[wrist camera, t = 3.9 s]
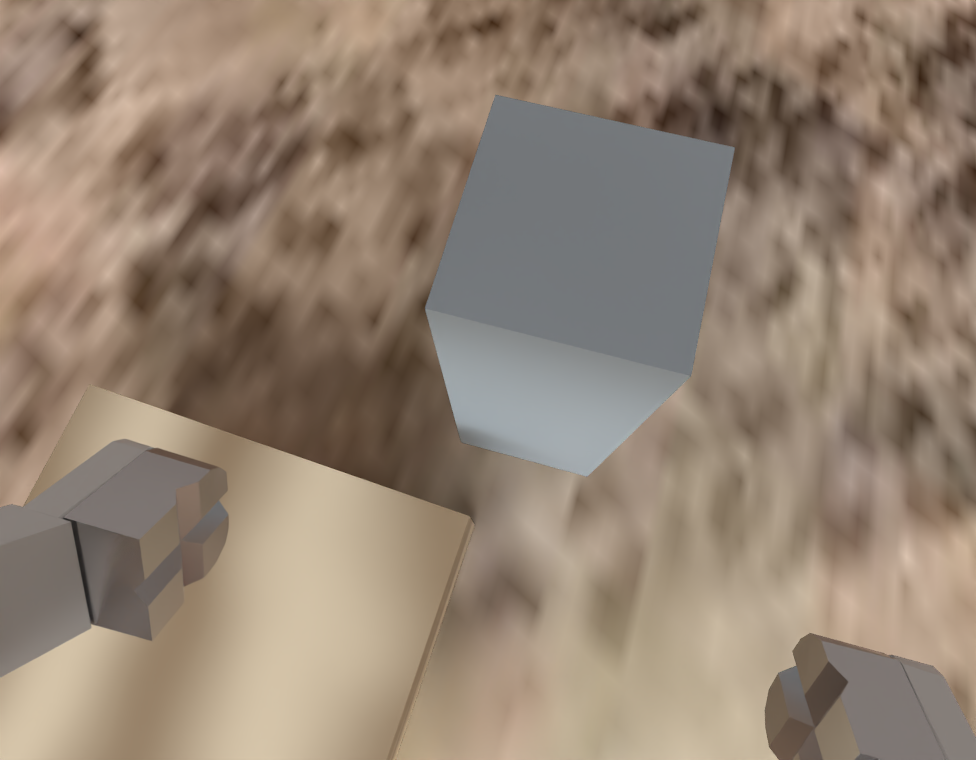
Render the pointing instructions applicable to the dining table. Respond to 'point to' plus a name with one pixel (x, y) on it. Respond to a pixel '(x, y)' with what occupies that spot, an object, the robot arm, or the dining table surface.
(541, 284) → the slate block
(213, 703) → the birch block
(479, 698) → the dining table surface
